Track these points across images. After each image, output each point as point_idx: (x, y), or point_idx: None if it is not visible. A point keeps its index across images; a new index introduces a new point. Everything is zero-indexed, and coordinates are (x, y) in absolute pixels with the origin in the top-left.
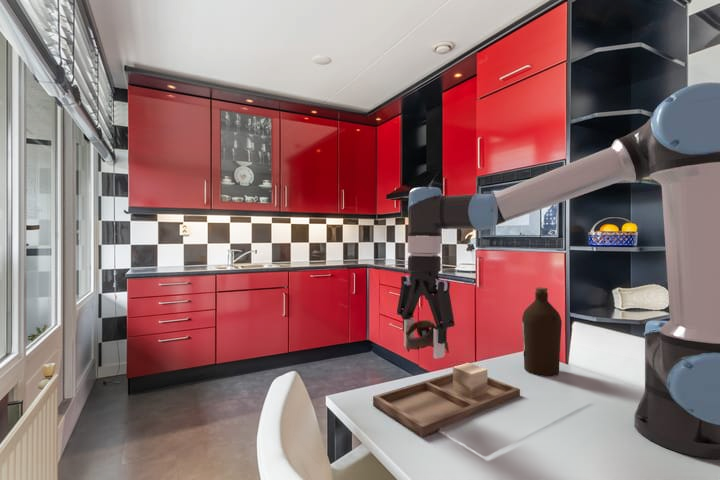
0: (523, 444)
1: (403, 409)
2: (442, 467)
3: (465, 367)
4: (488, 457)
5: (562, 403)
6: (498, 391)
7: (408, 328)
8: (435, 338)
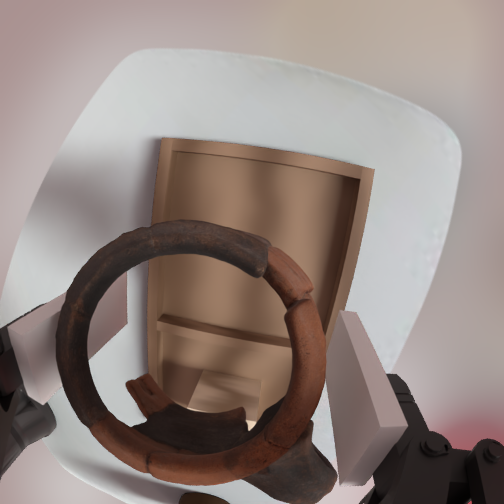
0: (62, 272)
1: (283, 200)
2: (100, 105)
3: None
4: (70, 191)
5: None
6: None
7: (313, 358)
8: (52, 304)
